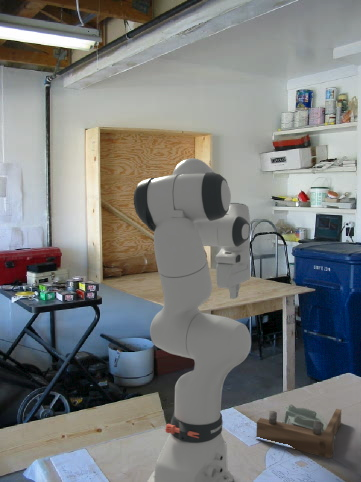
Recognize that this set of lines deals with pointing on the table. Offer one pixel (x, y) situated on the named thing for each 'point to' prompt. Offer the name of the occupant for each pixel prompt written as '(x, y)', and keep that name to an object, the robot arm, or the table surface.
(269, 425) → the bench stop
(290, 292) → the table surface
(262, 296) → the table surface
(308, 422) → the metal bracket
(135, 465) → the table surface
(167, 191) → the robot arm
